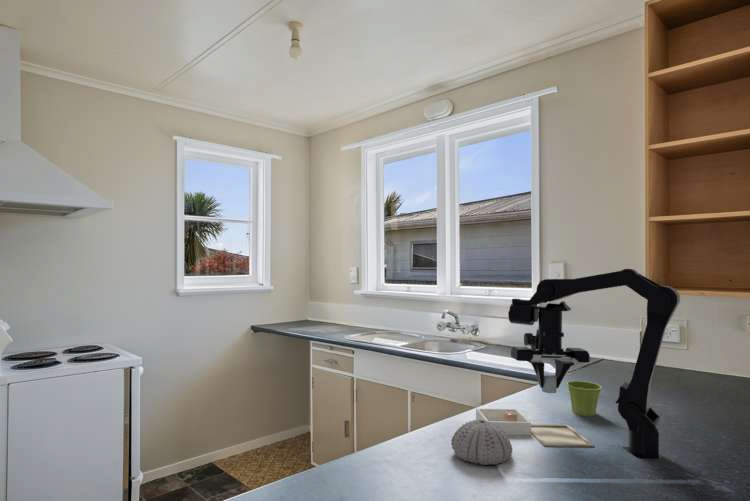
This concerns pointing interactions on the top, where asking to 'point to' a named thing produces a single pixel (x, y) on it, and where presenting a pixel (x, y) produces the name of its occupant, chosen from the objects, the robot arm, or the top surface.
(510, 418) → the peach rounded cylinder
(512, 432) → the square storage bin
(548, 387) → the slate pebble
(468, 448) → the sea urchin shell
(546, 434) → the parts tray
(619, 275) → the robot arm
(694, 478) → the top surface
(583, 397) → the plant pot
